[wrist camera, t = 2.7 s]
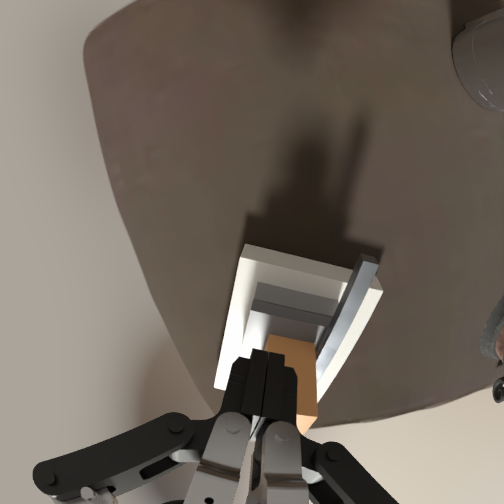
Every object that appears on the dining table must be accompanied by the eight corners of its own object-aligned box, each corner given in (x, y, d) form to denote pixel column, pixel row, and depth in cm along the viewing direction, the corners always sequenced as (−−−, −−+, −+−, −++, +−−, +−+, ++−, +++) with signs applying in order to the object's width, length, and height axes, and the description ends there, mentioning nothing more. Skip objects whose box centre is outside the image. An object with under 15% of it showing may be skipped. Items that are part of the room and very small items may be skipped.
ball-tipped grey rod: (351, 250, 18) (355, 258, 17) (382, 258, 18) (386, 267, 17) (282, 402, 26) (281, 411, 25) (303, 406, 26) (303, 414, 25)
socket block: (245, 243, 28) (229, 283, 21) (375, 275, 27) (396, 320, 21) (218, 371, 37) (205, 414, 30) (314, 390, 36) (314, 434, 29)
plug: (257, 280, 26) (233, 384, 15) (338, 299, 26) (357, 404, 15) (241, 341, 29) (218, 436, 19) (312, 356, 29) (313, 452, 18)
